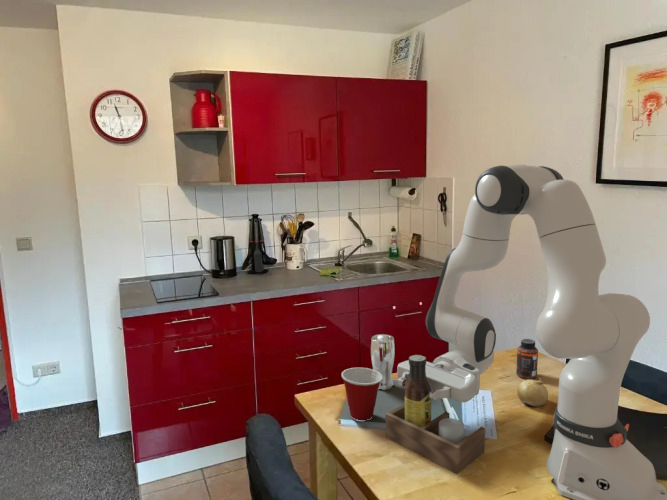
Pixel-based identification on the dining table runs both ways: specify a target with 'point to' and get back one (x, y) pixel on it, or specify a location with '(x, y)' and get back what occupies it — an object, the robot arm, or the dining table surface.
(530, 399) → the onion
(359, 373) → the plastic cup
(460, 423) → the grey rounded cylinder
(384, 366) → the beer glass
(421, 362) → the sauce bottle
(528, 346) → the supplement bottle
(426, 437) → the walnut rail
